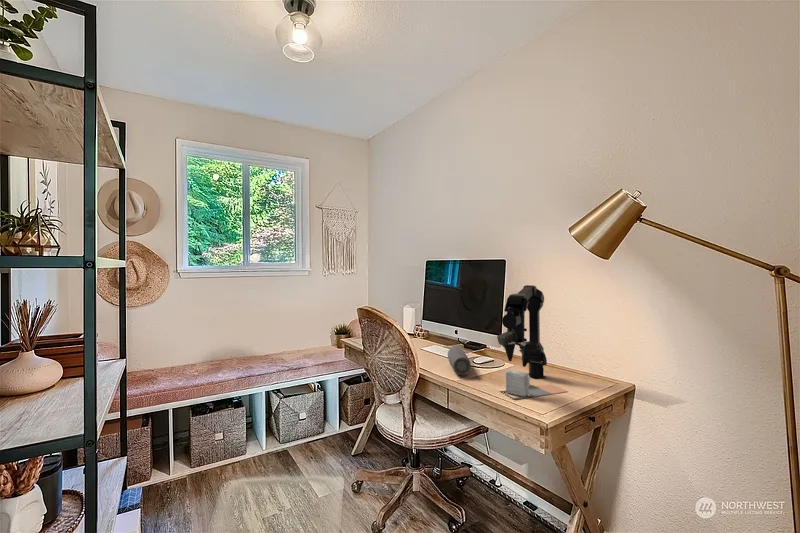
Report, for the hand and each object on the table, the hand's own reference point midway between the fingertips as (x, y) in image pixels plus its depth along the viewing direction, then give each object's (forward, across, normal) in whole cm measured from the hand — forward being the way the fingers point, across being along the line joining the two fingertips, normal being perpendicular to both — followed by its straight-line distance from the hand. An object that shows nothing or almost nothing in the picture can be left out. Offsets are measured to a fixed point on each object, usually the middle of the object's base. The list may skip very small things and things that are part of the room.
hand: (516, 363), depth 156 cm
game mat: (+12, 0, +9) cm, 15 cm away
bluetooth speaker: (+12, -39, -6) cm, 41 cm away
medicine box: (+12, 0, 0) cm, 12 cm away
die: (+12, -8, +9) cm, 17 cm away
